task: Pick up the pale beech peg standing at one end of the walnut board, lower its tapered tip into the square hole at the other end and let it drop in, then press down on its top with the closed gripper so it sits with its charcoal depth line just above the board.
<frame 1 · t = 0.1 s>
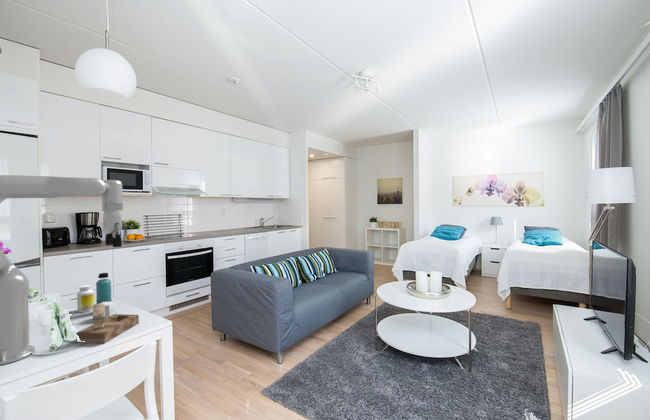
hand: (113, 245, 135), 37 cm above the table, tool pointing down, fingers open, 9 cm apart
skincare box: (106, 318, 147), on the table
supplement bottle: (85, 310, 157), on the table
beech peg: (99, 328, 125), point 4 cm above the table, touching walnut board
beverage bottle: (104, 311, 155), on the table
walnut board: (109, 332, 131), on the table
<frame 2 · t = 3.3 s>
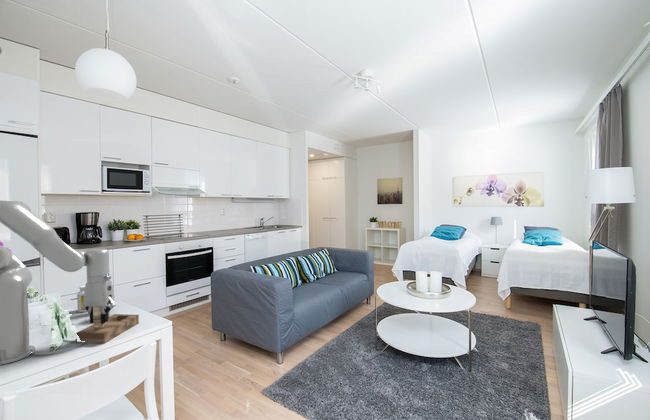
hand: (99, 321, 125), 7 cm above the table, tool pointing down, fingers closed on beech peg, 4 cm apart
beech peg: (99, 328, 125), point 4 cm above the table, touching gripper, walnut board
everything else where it was.
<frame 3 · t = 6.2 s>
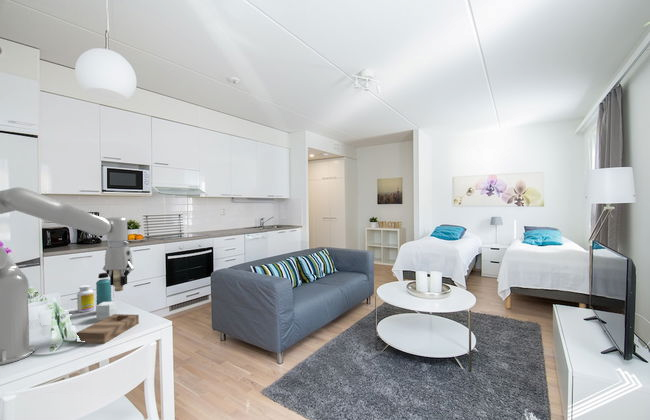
hand: (118, 284, 136), 20 cm above the table, tool pointing down, fingers closed on beech peg, 4 cm apart
beech peg: (119, 290, 136), point 17 cm above the table, touching gripper
everything else where it was.
when the fingers open (5 cm above the table, at t = 9.3 s): beech peg drops 2 cm, resting in walnut board.
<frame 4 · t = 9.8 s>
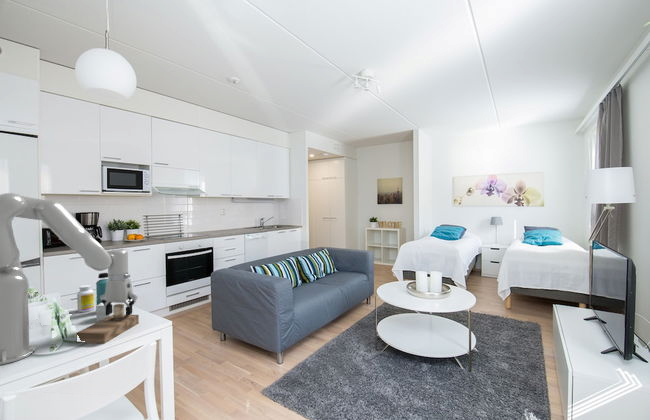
hand: (119, 314, 136), 6 cm above the table, tool pointing down, fingers open, 9 cm apart
beech peg: (119, 326, 136), resting in walnut board
everything else where it was.
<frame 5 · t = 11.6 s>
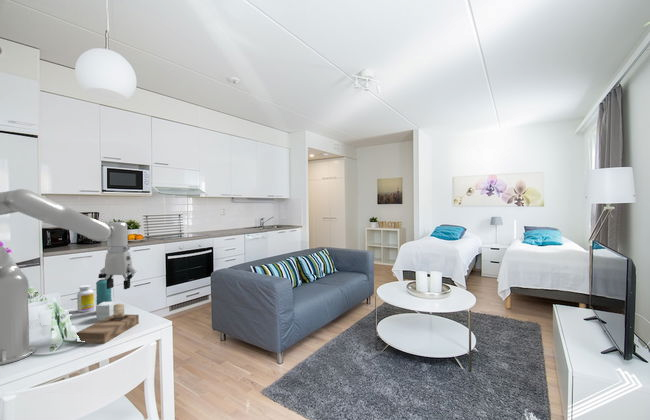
hand: (118, 288, 136), 18 cm above the table, tool pointing down, fingers open, 7 cm apart
nothing on the table moved.
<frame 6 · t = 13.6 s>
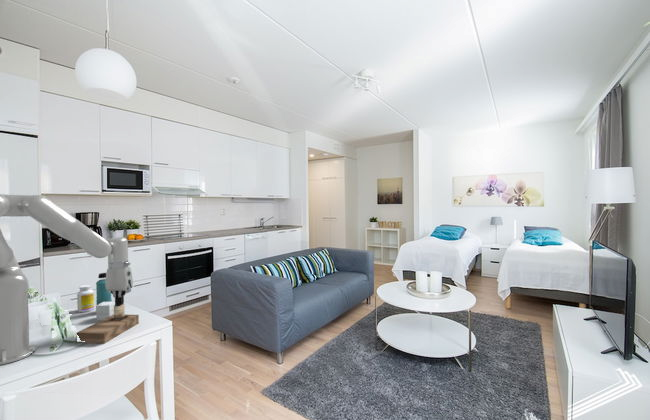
hand: (119, 305, 136), 10 cm above the table, tool pointing down, fingers closed
beech peg: (119, 327, 136), resting in walnut board, touching gripper
everything else where it was.
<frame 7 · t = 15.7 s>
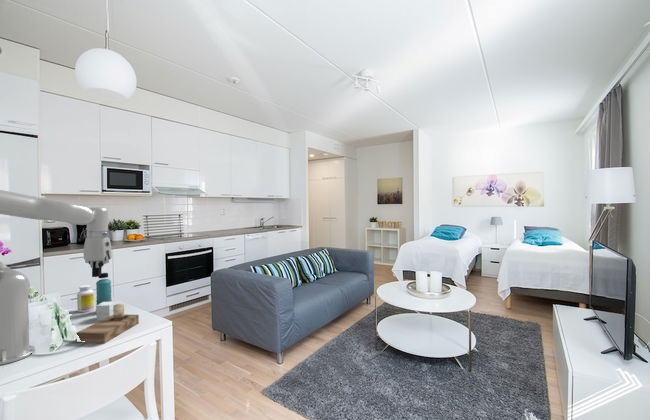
hand: (96, 276, 133), 24 cm above the table, tool pointing down, fingers closed
beech peg: (119, 326, 136), resting in walnut board
everything else where it was.
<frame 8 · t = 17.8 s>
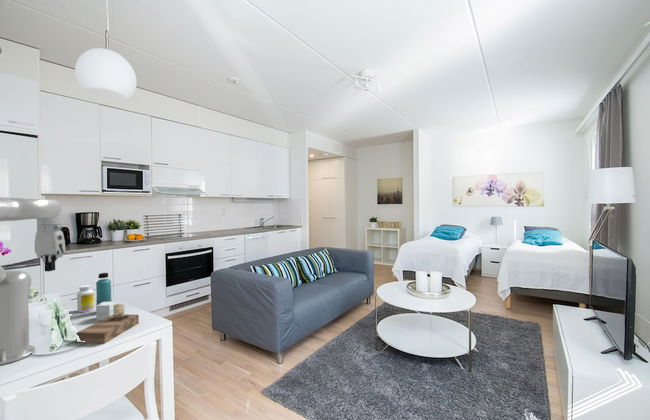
hand: (50, 270, 130), 27 cm above the table, tool pointing down, fingers closed
nothing on the table moved.
at the end: beech peg 0.0 cm from the target spot on the walnut board, point 0.0 cm above the walnut board's base; beech peg tilted 0°; the gripper is holding nothing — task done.
